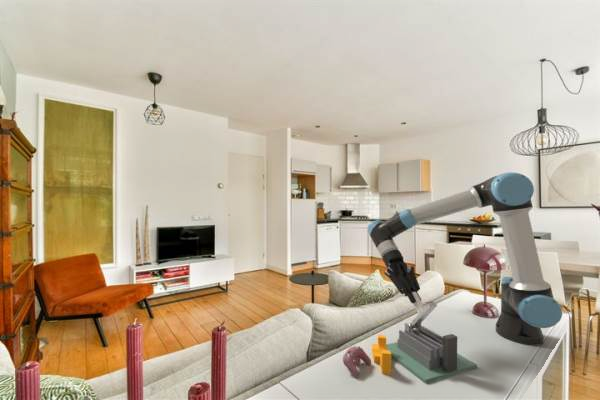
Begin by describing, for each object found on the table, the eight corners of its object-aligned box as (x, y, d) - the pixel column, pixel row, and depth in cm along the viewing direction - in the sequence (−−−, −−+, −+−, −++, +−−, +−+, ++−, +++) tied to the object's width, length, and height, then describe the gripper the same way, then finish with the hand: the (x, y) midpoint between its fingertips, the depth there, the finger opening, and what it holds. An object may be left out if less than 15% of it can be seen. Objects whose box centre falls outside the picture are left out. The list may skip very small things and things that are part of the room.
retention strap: (416, 328, 101) (413, 323, 103) (437, 306, 93) (433, 300, 94) (409, 329, 100) (406, 324, 101) (430, 307, 92) (426, 301, 93)
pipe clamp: (372, 352, 98) (372, 334, 98) (385, 354, 97) (385, 335, 97) (376, 373, 86) (376, 352, 86) (390, 375, 85) (391, 354, 85)
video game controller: (361, 365, 93) (353, 343, 95) (373, 363, 90) (364, 341, 92) (346, 379, 85) (338, 355, 87) (359, 378, 82) (349, 353, 84)
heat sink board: (426, 338, 109) (426, 308, 109) (477, 367, 90) (477, 332, 90) (380, 348, 100) (380, 316, 100) (425, 383, 81) (425, 344, 81)
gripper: (398, 258, 117) (429, 313, 101) (372, 260, 112) (401, 318, 97) (408, 247, 112) (442, 304, 97) (381, 249, 107) (413, 308, 92)
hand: (421, 311), depth 97 cm, fingers closed
